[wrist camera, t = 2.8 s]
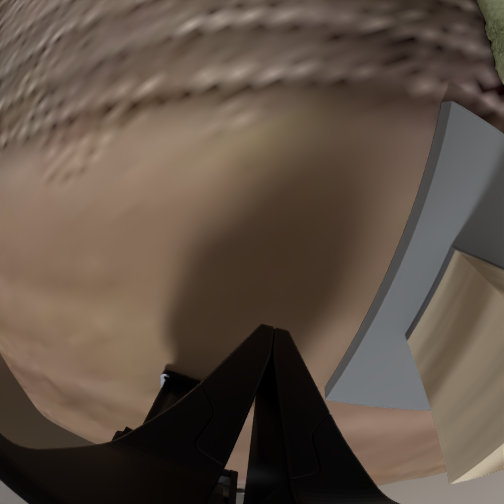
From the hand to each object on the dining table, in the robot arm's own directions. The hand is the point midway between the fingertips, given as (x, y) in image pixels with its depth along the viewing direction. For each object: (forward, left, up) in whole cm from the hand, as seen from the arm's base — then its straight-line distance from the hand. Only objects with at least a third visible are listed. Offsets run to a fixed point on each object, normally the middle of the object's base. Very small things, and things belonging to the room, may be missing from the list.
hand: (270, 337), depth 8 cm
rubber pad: (+17, 0, -8) cm, 19 cm away
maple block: (+11, 0, -6) cm, 13 cm away
